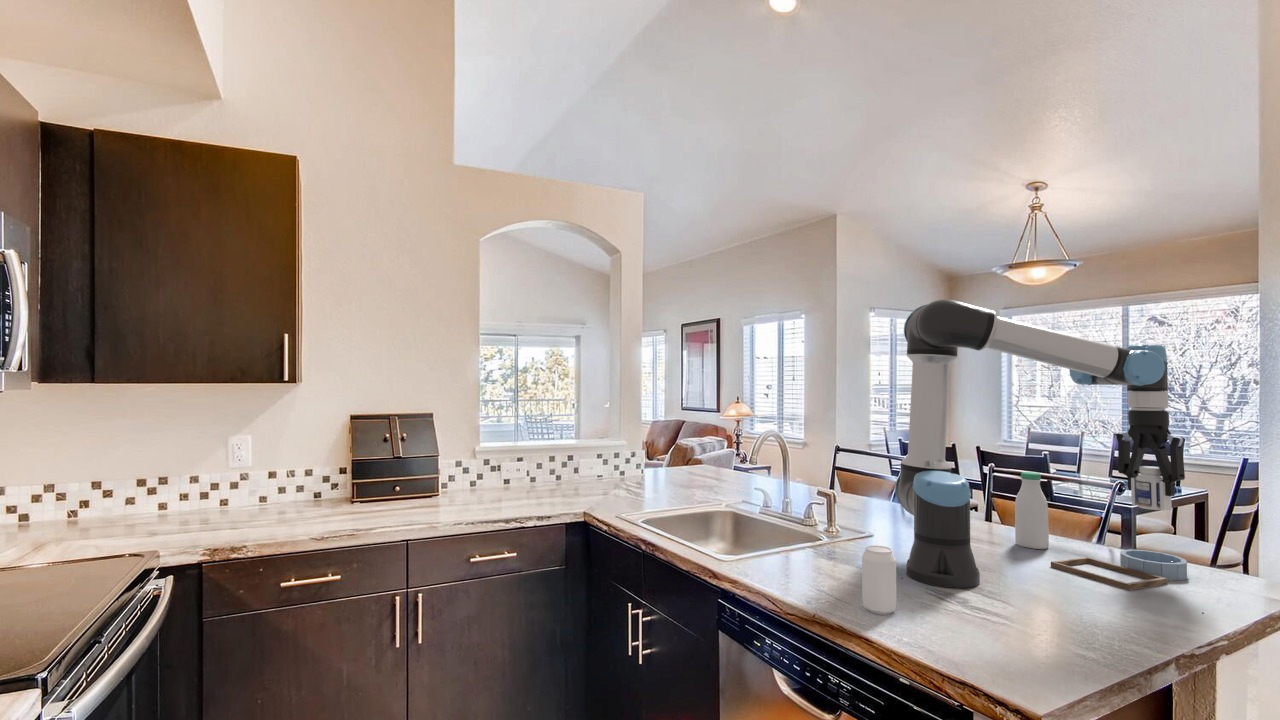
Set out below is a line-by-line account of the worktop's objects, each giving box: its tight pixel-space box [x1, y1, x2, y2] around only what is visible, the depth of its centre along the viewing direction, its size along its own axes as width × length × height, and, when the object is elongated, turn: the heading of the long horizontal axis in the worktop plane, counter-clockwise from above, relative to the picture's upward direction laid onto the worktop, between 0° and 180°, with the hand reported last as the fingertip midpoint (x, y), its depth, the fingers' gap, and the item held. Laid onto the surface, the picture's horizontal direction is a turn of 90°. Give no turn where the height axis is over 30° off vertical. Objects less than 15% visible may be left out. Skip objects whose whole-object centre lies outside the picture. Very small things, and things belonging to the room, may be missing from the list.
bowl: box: [1119, 548, 1188, 581], centre depth 145 cm, size 12×12×4 cm
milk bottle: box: [1014, 471, 1050, 550], centre depth 168 cm, size 8×8×20 cm
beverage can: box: [861, 544, 897, 616], centre depth 120 cm, size 6×6×12 cm
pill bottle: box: [1136, 465, 1163, 511], centre depth 146 cm, size 5×5×10 cm
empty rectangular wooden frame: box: [1050, 556, 1168, 591], centre depth 143 cm, size 13×18×1 cm
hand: (1151, 507), depth 145 cm, fingers closed on pill bottle, 5 cm apart
